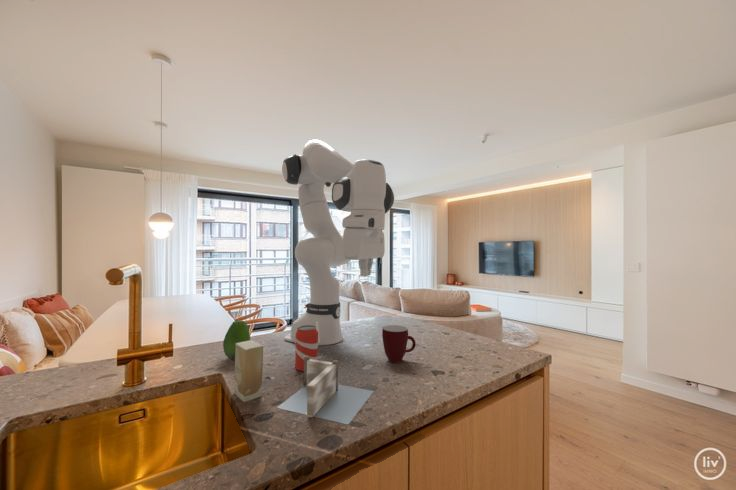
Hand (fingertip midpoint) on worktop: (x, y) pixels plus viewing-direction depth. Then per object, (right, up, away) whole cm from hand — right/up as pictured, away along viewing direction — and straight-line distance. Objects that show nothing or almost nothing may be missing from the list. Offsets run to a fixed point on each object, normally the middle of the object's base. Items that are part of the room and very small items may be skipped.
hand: (365, 276), depth 77 cm
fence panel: (-9, -27, -11) cm, 31 cm away
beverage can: (-17, -28, +9) cm, 34 cm away
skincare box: (-28, -28, -7) cm, 40 cm away
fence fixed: (-11, -27, -3) cm, 30 cm away
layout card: (-8, -28, -9) cm, 30 cm away
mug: (+10, -29, +17) cm, 35 cm away
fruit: (-41, -28, +17) cm, 53 cm away
